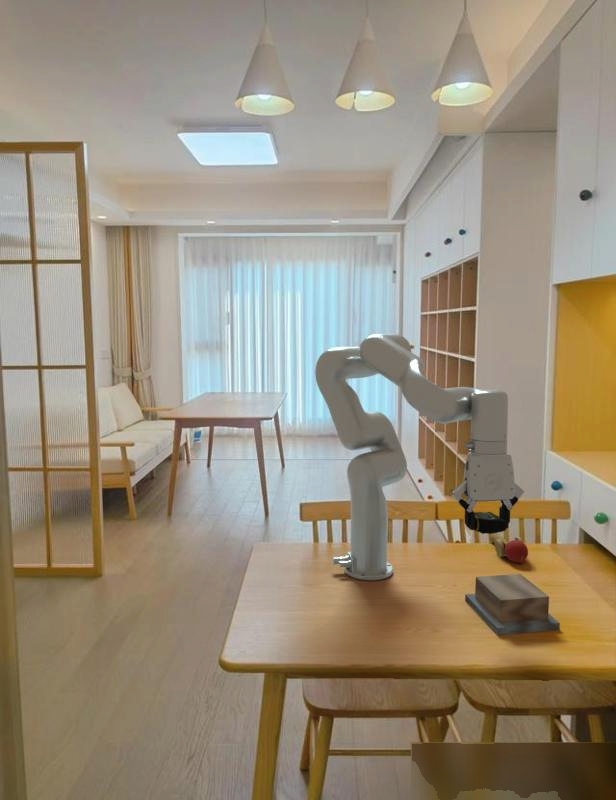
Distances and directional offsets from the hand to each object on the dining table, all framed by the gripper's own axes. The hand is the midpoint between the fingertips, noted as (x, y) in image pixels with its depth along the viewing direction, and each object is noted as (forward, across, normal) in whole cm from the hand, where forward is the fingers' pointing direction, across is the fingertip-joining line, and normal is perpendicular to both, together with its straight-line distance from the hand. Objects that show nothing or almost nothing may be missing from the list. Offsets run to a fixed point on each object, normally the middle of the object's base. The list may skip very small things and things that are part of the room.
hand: (487, 526), depth 128 cm
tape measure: (+1, +1, +1) cm, 2 cm away
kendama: (+20, +22, +34) cm, 45 cm away
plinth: (+20, +6, 0) cm, 21 cm away
